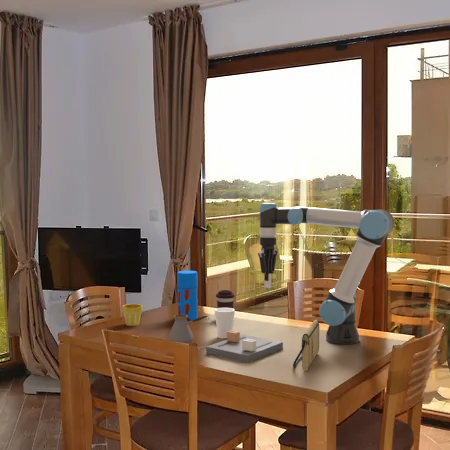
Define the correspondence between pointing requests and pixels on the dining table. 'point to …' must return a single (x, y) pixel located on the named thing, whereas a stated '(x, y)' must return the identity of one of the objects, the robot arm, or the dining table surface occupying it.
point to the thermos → (187, 294)
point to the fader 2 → (249, 345)
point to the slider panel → (236, 353)
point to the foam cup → (224, 321)
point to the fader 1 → (233, 336)
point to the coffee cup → (225, 299)
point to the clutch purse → (309, 346)
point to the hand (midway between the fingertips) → (267, 287)
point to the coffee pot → (182, 329)
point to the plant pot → (132, 314)
